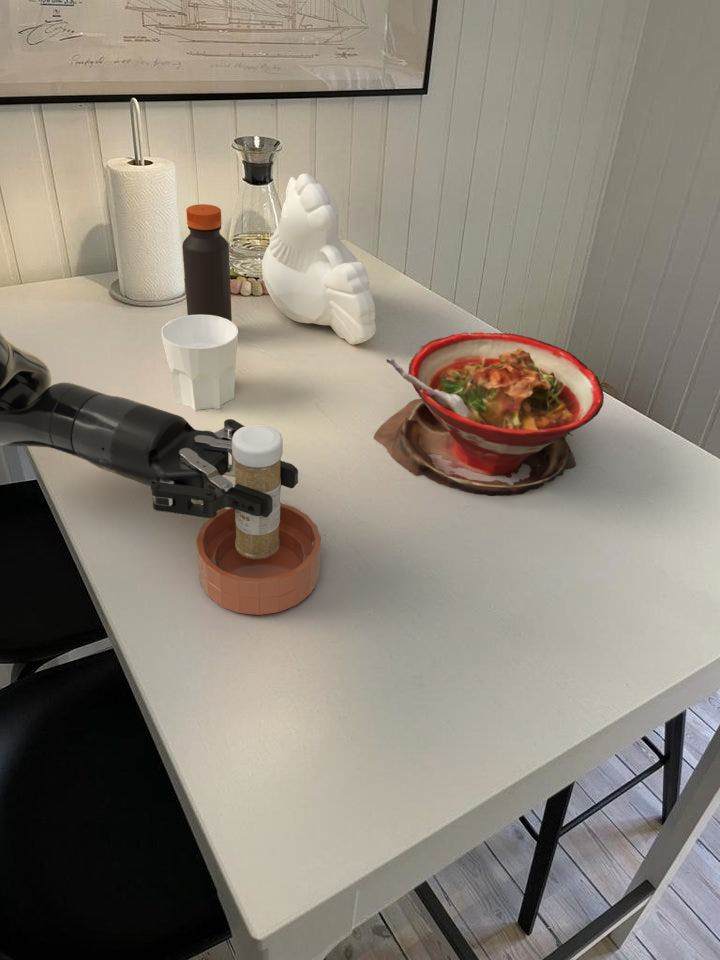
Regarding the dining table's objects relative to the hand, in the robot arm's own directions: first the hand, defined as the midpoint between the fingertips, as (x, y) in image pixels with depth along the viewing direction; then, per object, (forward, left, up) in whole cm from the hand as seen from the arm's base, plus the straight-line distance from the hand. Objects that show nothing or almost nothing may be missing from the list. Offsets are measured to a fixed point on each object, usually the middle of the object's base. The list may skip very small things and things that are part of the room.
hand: (283, 492), depth 70 cm
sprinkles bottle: (-1, +3, -8) cm, 9 cm away
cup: (+19, +34, -12) cm, 41 cm away
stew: (+34, -2, -12) cm, 36 cm away
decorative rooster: (+47, +37, -12) cm, 61 cm away
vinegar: (+32, +47, -12) cm, 58 cm away
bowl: (-1, +3, -12) cm, 12 cm away
